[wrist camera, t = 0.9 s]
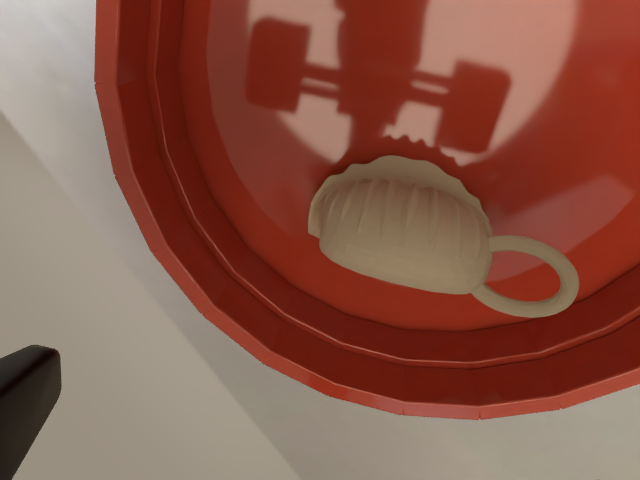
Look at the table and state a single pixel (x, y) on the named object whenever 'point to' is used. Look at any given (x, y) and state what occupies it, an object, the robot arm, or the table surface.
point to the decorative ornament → (423, 234)
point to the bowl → (366, 146)
